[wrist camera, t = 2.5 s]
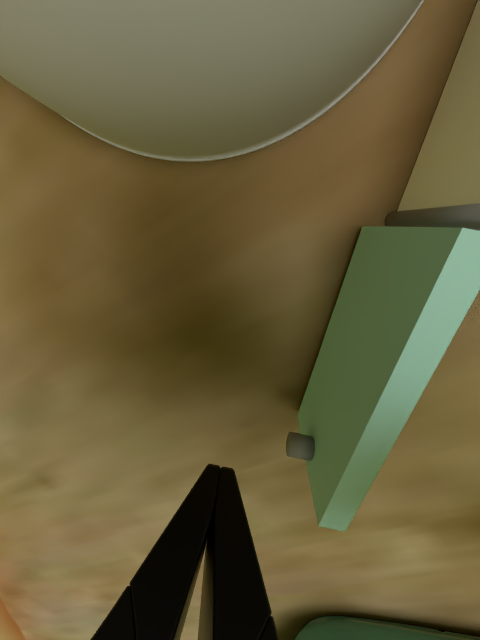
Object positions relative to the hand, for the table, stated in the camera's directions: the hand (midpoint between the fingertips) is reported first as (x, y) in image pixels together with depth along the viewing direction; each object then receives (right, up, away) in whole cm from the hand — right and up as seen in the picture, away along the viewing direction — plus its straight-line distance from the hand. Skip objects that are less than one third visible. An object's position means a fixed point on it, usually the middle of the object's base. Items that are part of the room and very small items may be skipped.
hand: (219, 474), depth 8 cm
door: (+6, +4, +7) cm, 10 cm away
